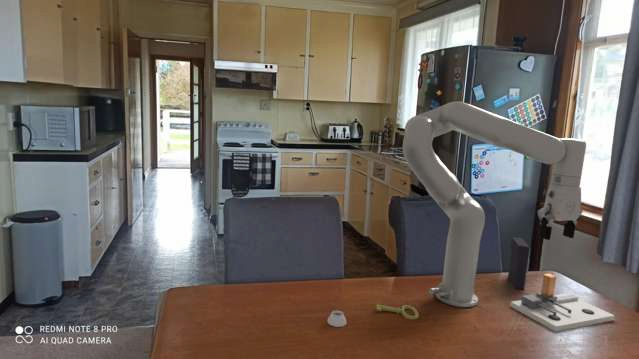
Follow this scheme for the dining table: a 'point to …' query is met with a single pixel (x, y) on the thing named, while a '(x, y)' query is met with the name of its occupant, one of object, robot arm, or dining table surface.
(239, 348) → the dining table surface
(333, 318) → the white jar
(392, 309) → the key
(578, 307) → the gauge board
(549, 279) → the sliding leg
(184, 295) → the dining table surface
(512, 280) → the calculator
